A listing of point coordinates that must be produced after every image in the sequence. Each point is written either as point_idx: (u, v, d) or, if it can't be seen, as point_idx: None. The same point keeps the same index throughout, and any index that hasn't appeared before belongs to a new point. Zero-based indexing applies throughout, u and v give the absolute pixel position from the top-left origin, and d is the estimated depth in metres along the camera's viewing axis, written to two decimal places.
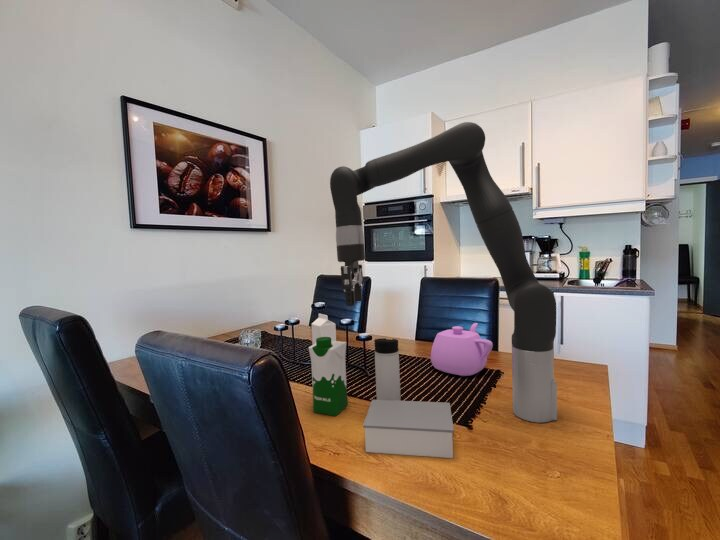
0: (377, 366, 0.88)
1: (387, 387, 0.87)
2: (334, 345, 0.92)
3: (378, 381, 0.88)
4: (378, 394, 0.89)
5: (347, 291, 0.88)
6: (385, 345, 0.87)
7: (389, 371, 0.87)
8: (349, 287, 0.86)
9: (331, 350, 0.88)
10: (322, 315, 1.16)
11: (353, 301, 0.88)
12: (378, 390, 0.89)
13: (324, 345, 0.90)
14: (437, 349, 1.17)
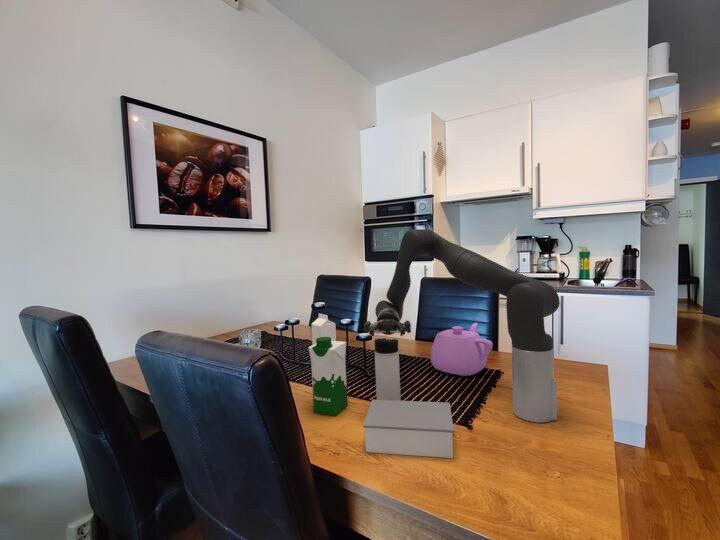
0: (377, 366, 0.88)
1: (387, 387, 0.87)
2: (334, 345, 0.92)
3: (378, 381, 0.88)
4: (378, 394, 0.89)
5: (369, 330, 1.05)
6: (385, 345, 0.87)
7: (389, 371, 0.87)
8: (364, 326, 1.06)
9: (331, 350, 0.88)
10: (322, 315, 1.16)
11: (371, 328, 1.02)
12: (378, 390, 0.89)
13: (324, 345, 0.89)
14: (437, 349, 1.17)
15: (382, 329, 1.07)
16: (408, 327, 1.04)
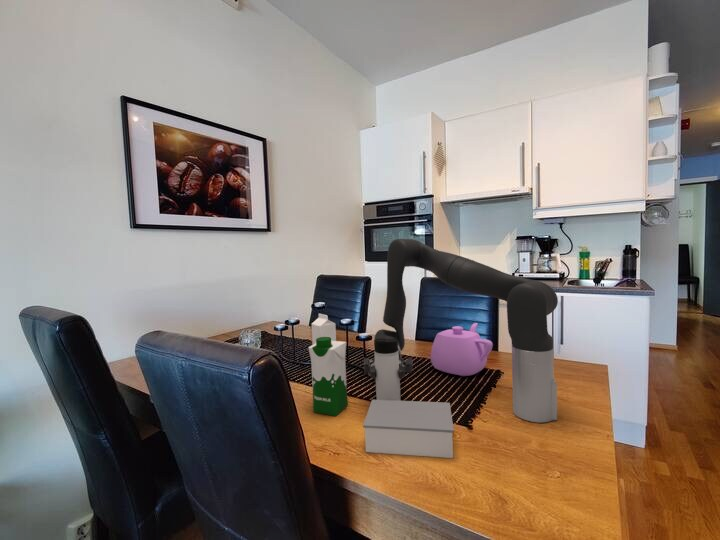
0: (377, 366, 0.88)
1: (387, 387, 0.87)
2: (334, 345, 0.92)
3: (378, 381, 0.88)
4: (378, 394, 0.89)
5: (370, 370, 0.92)
6: (385, 345, 0.87)
7: (389, 371, 0.87)
8: (364, 365, 0.93)
9: (331, 350, 0.88)
10: (322, 315, 1.16)
11: (372, 370, 0.89)
12: (378, 390, 0.88)
13: (324, 345, 0.90)
14: (437, 349, 1.17)
15: None
16: (408, 367, 0.91)
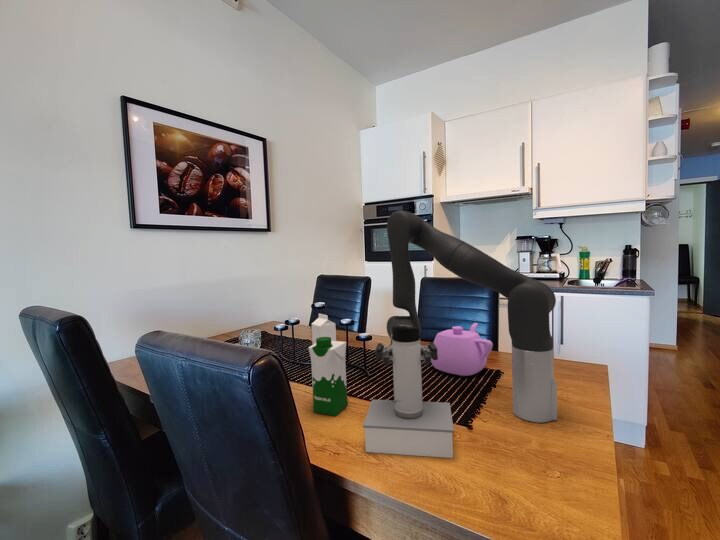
0: (395, 357, 0.75)
1: (407, 381, 0.74)
2: (334, 345, 0.92)
3: (396, 375, 0.75)
4: (396, 390, 0.76)
5: (382, 357, 0.79)
6: (405, 332, 0.74)
7: (410, 363, 0.74)
8: None
9: (331, 350, 0.88)
10: (322, 315, 1.16)
11: (385, 355, 0.76)
12: (396, 385, 0.76)
13: (324, 345, 0.90)
14: None
15: None
16: (434, 352, 0.78)
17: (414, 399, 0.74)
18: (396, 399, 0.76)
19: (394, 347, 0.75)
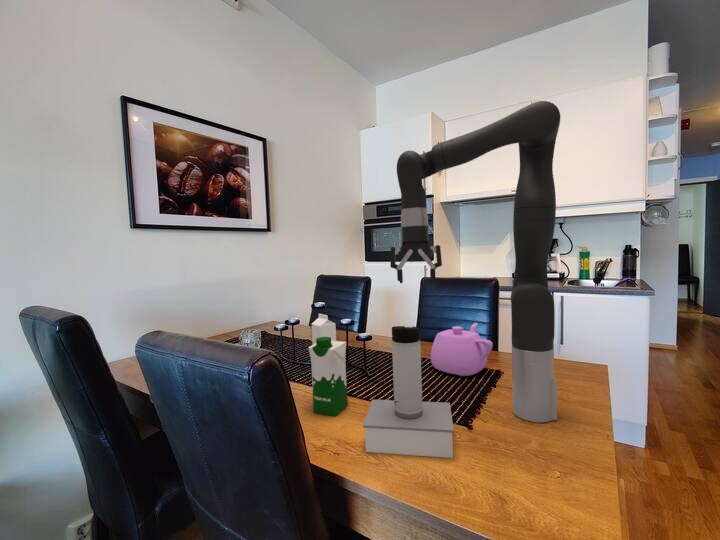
0: (395, 358, 0.75)
1: (407, 382, 0.74)
2: (334, 345, 0.92)
3: (396, 375, 0.75)
4: (396, 391, 0.76)
5: (396, 269, 0.99)
6: (405, 333, 0.73)
7: (410, 364, 0.74)
8: None
9: (331, 350, 0.88)
10: (322, 315, 1.16)
11: (399, 279, 0.98)
12: (396, 386, 0.75)
13: (324, 345, 0.90)
14: (437, 349, 1.17)
15: None
16: (439, 266, 0.96)
17: (414, 400, 0.74)
18: (396, 400, 0.76)
19: (394, 348, 0.75)
